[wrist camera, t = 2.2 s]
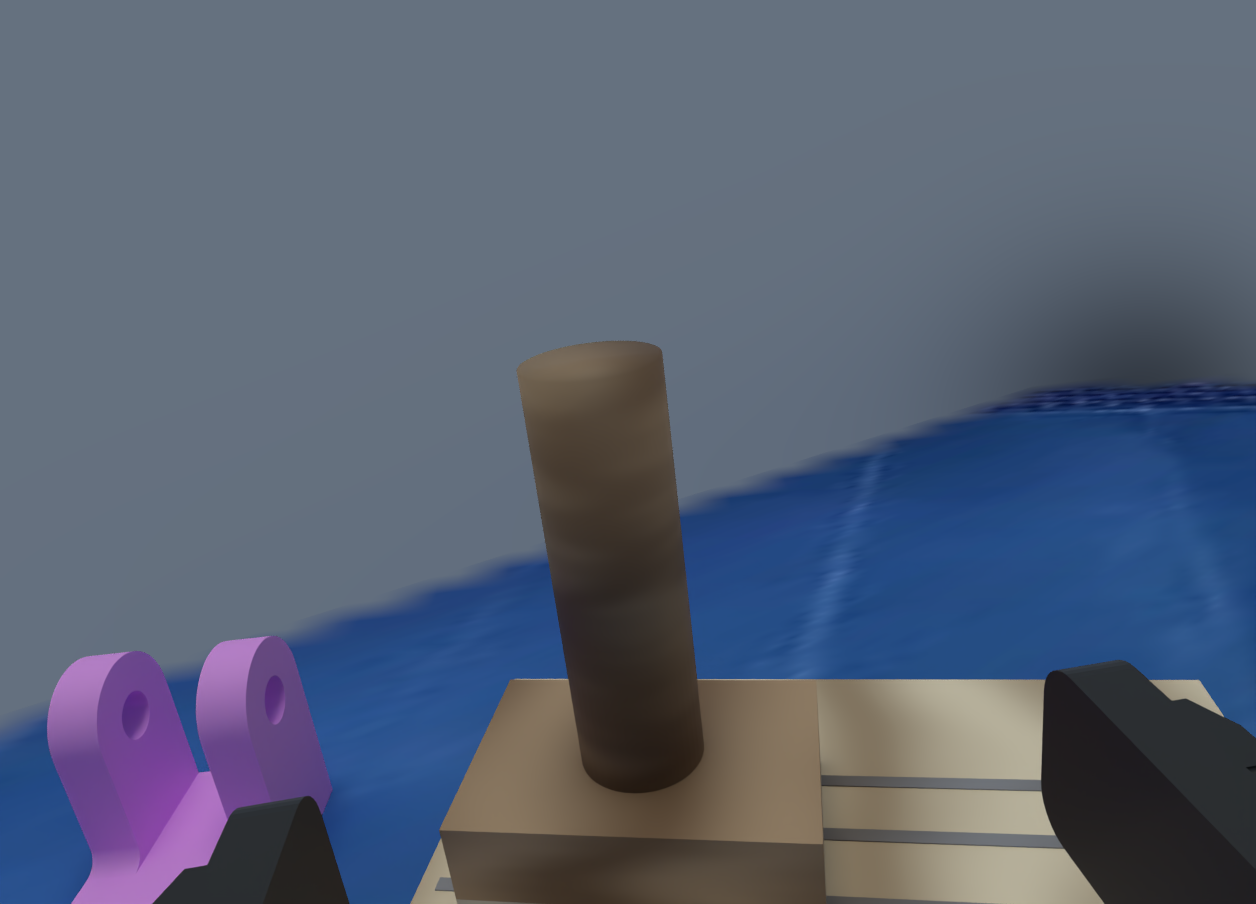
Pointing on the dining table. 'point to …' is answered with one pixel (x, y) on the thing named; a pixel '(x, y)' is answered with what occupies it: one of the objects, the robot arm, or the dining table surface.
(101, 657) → the bracket
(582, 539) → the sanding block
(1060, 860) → the pine board
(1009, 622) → the dining table surface
